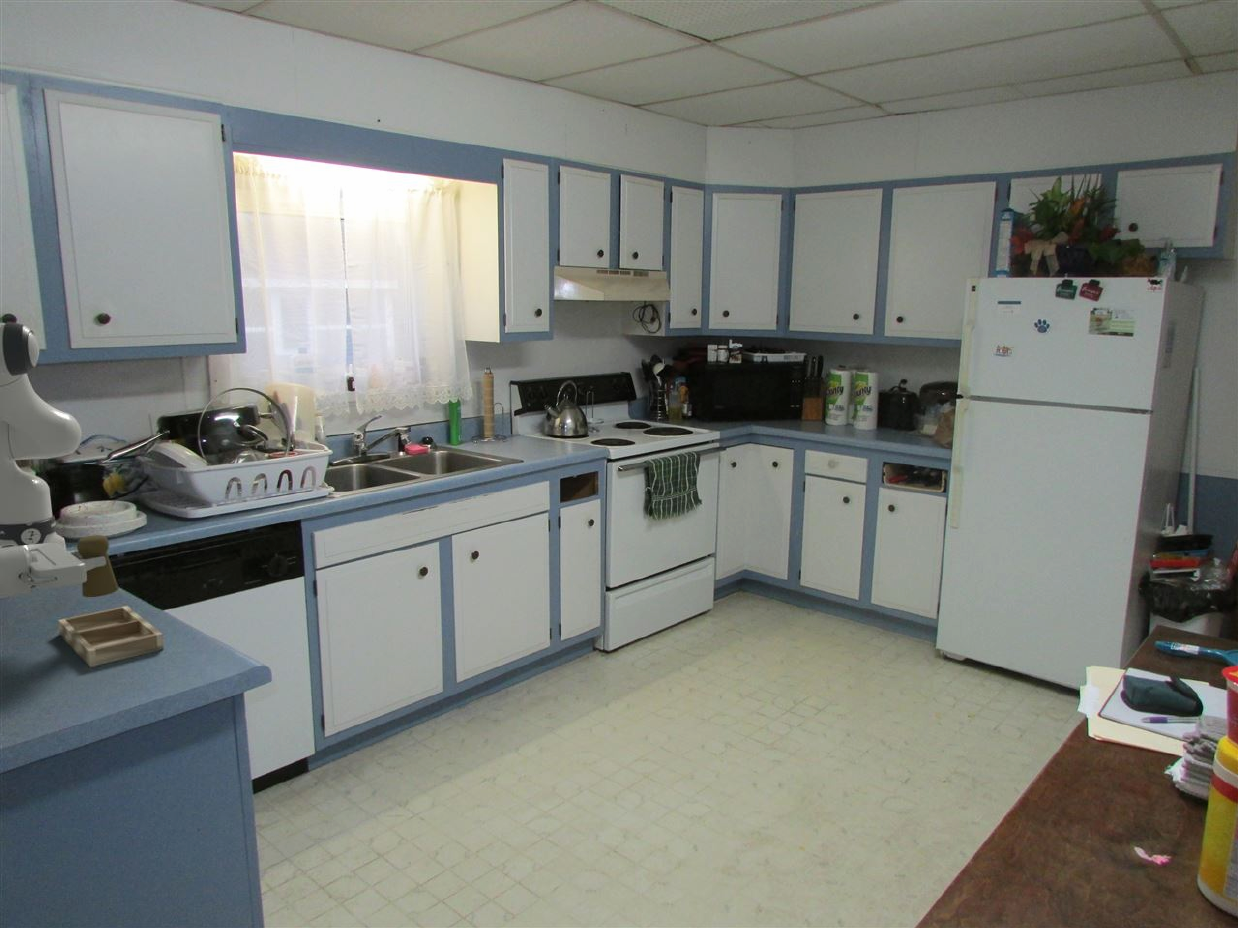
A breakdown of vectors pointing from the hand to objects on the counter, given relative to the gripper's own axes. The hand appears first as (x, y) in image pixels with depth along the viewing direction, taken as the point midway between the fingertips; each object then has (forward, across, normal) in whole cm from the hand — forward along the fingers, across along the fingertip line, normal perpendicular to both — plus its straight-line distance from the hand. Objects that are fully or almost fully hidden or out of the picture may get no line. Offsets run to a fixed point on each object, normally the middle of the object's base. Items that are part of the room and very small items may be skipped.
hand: (100, 557), depth 162 cm
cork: (0, 0, +7) cm, 7 cm away
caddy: (-1, -5, +16) cm, 16 cm away
